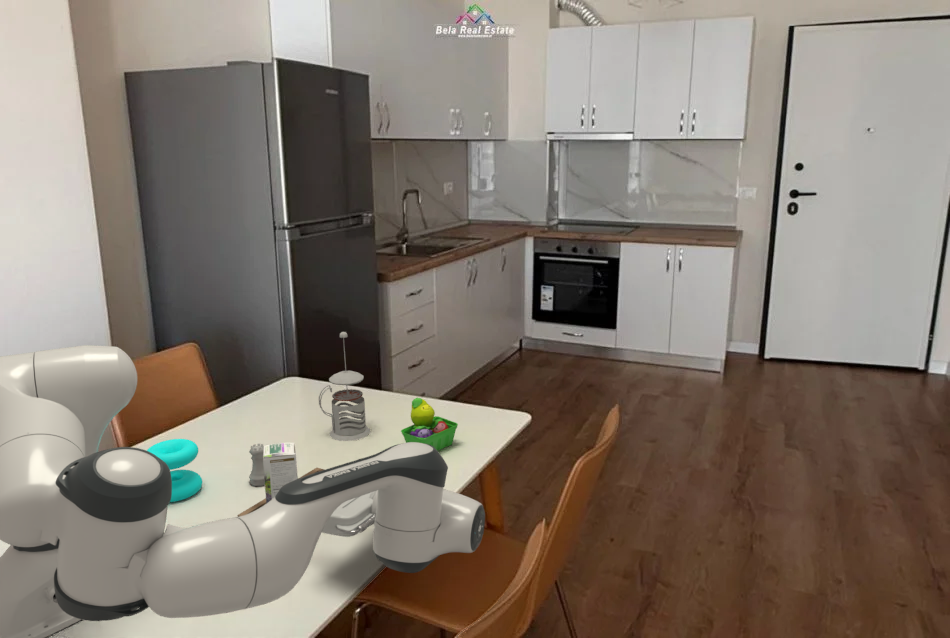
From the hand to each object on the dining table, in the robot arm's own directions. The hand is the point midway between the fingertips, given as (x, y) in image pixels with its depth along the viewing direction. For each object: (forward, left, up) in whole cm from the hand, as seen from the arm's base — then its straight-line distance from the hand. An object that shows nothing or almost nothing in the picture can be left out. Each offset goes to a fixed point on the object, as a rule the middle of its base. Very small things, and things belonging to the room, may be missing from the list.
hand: (329, 487), depth 124 cm
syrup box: (0, +11, -10) cm, 15 cm away
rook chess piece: (+10, +27, -10) cm, 31 cm away
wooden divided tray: (+5, +11, -10) cm, 16 cm away
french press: (+38, +27, -10) cm, 48 cm away
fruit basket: (+40, +5, -10) cm, 42 cm away
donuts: (-1, +39, -10) cm, 41 cm away
